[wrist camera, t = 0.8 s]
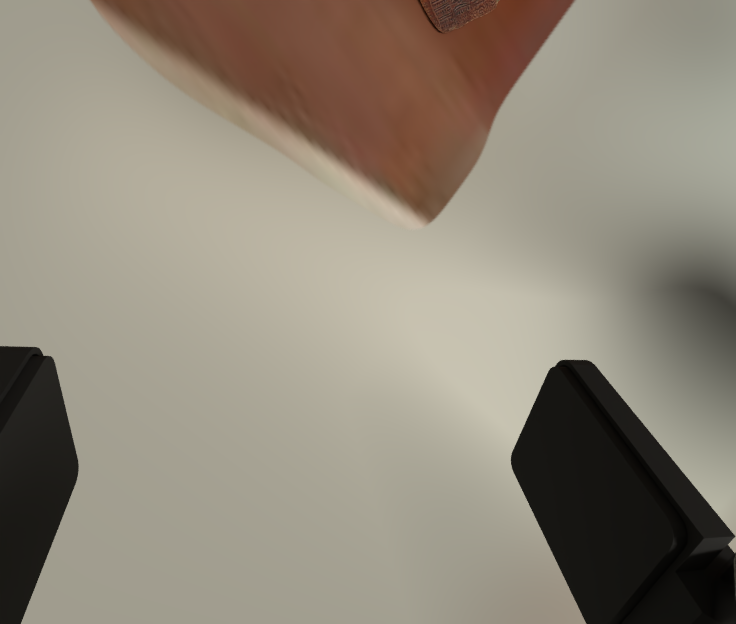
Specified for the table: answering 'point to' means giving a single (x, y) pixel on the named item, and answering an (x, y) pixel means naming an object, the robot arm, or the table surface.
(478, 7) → the wooden tablet
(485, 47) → the table surface
